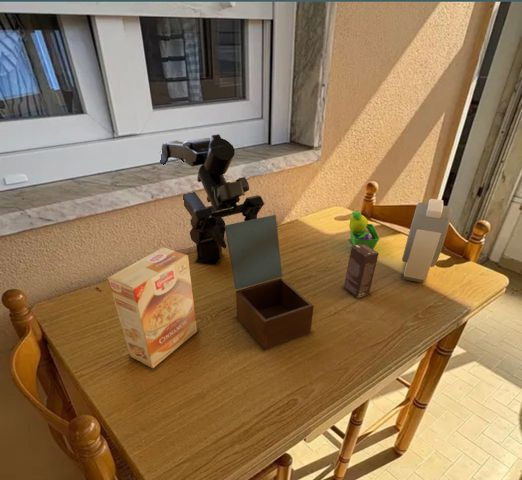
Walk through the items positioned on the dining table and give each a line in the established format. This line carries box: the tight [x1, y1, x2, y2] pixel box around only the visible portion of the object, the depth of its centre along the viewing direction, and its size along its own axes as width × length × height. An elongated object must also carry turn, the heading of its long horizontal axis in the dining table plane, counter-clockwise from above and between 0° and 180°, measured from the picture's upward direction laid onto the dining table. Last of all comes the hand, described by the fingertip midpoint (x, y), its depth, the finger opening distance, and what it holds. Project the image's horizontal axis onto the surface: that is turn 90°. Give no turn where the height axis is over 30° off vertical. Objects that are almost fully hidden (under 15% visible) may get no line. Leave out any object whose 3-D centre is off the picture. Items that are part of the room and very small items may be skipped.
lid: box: [225, 214, 283, 291], centre depth 86 cm, size 14×12×1 cm
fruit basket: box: [348, 211, 380, 250], centre depth 118 cm, size 11×9×11 cm
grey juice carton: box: [401, 198, 453, 284], centre depth 103 cm, size 18×8×20 cm, turn 158°
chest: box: [235, 277, 315, 350], centre depth 88 cm, size 13×12×8 cm
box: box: [343, 244, 380, 299], centre depth 98 cm, size 6×4×12 cm
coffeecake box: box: [107, 246, 198, 369], centre depth 78 cm, size 15×7×20 cm, turn 148°
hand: (241, 243), depth 94 cm, fingers open, 9 cm apart
